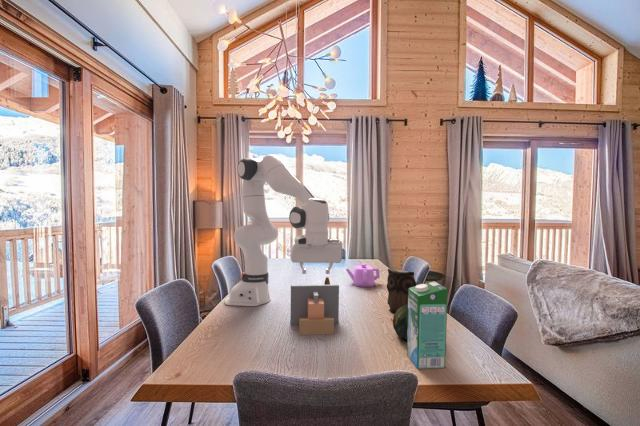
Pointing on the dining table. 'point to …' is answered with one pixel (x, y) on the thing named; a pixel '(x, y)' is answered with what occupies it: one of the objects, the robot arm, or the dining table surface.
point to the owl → (399, 288)
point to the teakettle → (364, 275)
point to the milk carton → (427, 325)
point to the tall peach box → (315, 307)
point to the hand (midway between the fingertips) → (315, 273)
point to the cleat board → (300, 308)
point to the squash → (401, 322)
